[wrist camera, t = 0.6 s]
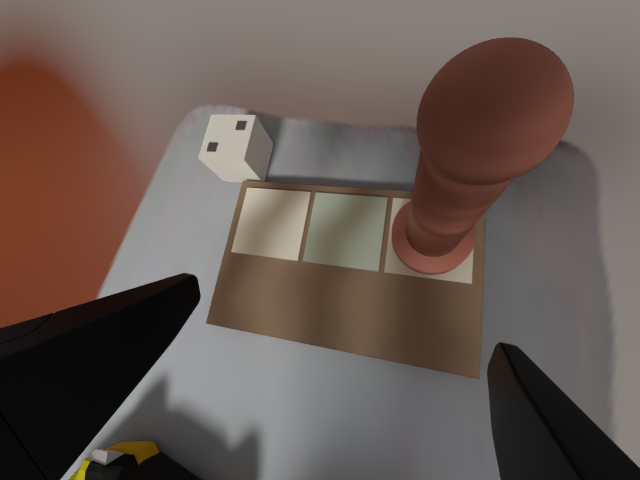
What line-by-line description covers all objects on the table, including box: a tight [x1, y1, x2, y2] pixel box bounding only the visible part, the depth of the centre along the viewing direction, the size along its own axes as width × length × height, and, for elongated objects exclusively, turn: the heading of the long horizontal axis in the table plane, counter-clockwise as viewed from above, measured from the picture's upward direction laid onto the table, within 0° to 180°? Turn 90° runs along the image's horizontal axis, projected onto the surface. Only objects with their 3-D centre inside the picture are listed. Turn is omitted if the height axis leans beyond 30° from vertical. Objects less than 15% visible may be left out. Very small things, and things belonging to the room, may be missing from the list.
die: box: [198, 115, 274, 183], centre depth 25 cm, size 4×4×4 cm
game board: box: [206, 181, 485, 379], centre depth 22 cm, size 19×12×1 cm, turn 81°
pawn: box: [391, 38, 574, 275], centre depth 14 cm, size 5×5×15 cm
